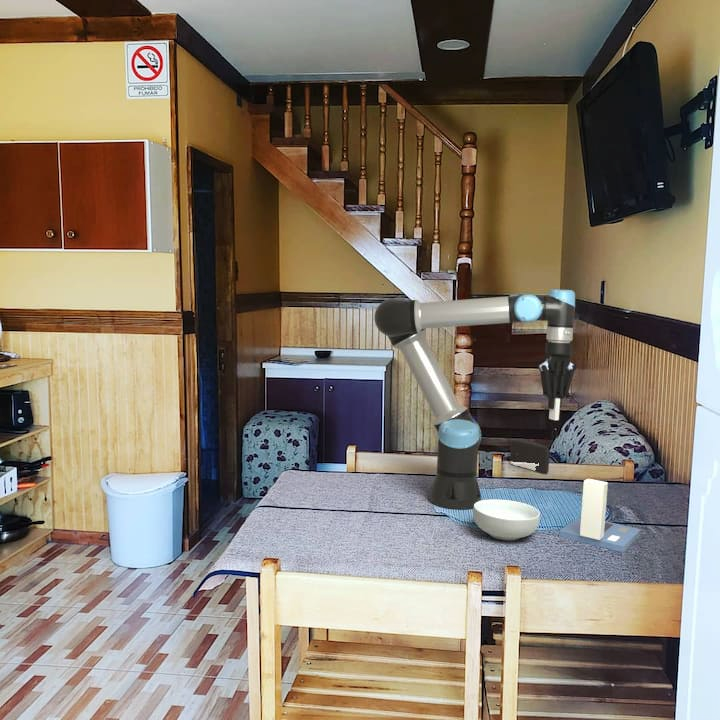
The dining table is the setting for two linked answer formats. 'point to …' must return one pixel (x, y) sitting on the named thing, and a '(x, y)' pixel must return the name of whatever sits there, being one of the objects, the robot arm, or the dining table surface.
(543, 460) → the leaning round-cornered charcoal block
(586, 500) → the white upright block
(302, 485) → the dining table surface
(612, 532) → the switch board
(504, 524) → the cereal bowl
